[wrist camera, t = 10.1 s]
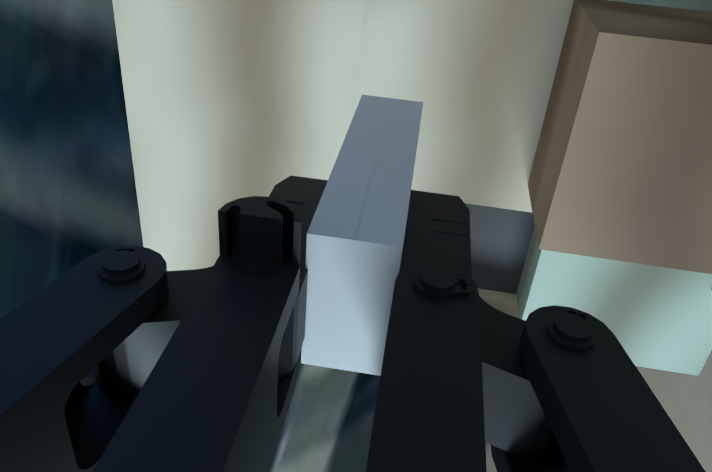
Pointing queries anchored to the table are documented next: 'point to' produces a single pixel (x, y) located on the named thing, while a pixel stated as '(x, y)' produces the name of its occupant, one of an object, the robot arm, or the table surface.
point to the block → (629, 138)
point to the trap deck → (334, 115)
